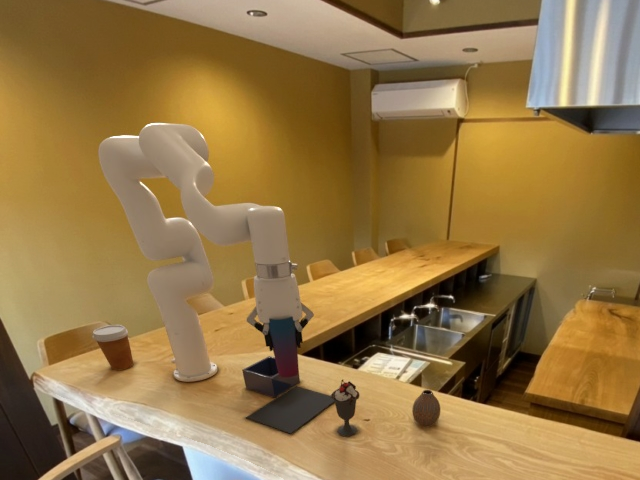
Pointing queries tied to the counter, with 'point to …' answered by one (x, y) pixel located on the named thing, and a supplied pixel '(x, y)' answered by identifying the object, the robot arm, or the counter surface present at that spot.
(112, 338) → the disposable coffee cup
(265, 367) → the holder
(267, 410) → the mat
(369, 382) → the counter surface
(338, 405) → the sundae
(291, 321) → the cup
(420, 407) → the vase
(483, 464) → the counter surface
